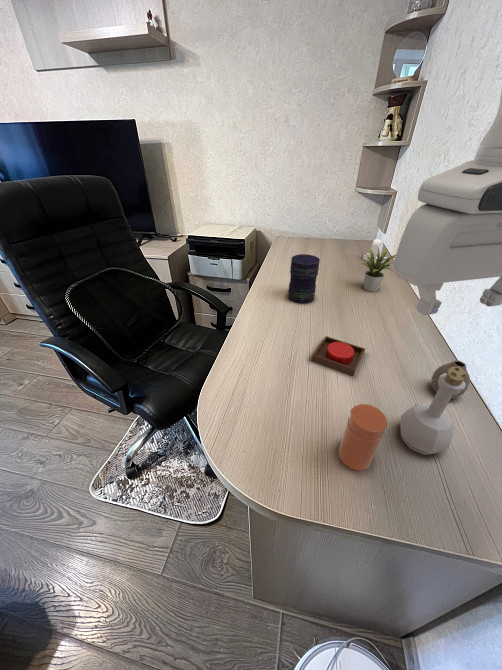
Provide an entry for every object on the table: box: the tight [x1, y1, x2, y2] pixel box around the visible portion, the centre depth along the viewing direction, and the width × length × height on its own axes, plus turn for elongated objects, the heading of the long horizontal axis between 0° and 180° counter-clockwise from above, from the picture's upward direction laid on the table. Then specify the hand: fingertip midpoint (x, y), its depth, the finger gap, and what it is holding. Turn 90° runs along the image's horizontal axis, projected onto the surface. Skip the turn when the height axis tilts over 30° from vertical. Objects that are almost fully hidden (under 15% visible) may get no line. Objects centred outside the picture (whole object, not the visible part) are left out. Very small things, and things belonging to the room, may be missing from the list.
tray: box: [311, 335, 366, 377], centre depth 75 cm, size 11×10×2 cm
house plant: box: [359, 247, 396, 292], centre depth 105 cm, size 14×14×16 cm
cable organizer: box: [362, 238, 388, 264], centre depth 134 cm, size 5×10×10 cm, turn 49°
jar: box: [337, 403, 388, 472], centre depth 49 cm, size 6×6×11 cm
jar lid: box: [326, 342, 354, 365], centre depth 74 cm, size 7×7×2 cm
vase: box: [430, 359, 471, 399], centre depth 63 cm, size 7×7×9 cm
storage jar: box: [287, 253, 321, 305], centre depth 100 cm, size 10×10×15 cm
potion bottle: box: [400, 367, 466, 456], centre depth 50 cm, size 9×9×18 cm
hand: (458, 308), depth 35 cm, fingers open, 8 cm apart
